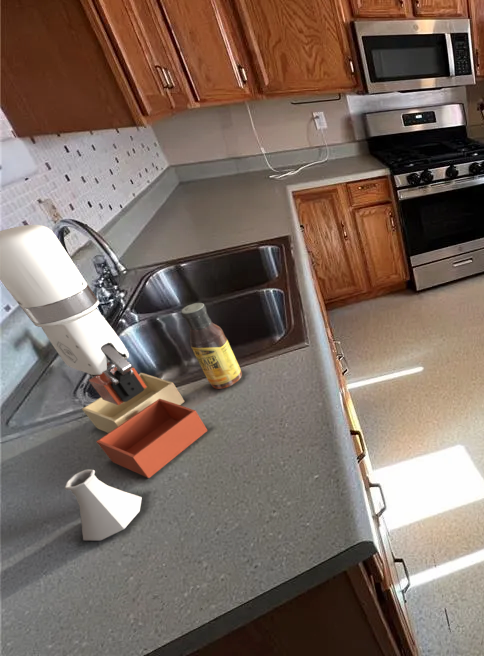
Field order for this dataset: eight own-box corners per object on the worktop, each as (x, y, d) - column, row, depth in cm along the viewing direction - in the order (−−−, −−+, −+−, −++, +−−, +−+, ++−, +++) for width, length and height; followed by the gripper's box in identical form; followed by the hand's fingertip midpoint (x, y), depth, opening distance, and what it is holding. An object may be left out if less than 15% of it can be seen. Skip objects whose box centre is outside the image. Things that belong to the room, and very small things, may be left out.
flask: (73, 549, 62) (32, 508, 58) (101, 505, 68) (66, 465, 64) (128, 533, 64) (92, 493, 59) (151, 491, 70) (120, 452, 65)
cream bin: (97, 428, 84) (81, 408, 81) (153, 391, 93) (141, 372, 90) (129, 441, 80) (114, 421, 78) (184, 401, 89) (173, 382, 86)
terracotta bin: (112, 462, 76) (95, 441, 74) (172, 418, 85) (159, 398, 82) (148, 478, 72) (132, 457, 70) (207, 430, 81) (195, 410, 78)
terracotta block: (103, 399, 71) (88, 380, 69) (131, 382, 75) (118, 362, 73) (118, 405, 70) (103, 385, 68) (147, 387, 73) (134, 367, 71)
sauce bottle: (205, 389, 92) (163, 315, 83) (228, 370, 97) (191, 298, 88) (229, 392, 90) (188, 317, 81) (251, 373, 96) (215, 300, 86)
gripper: (2, 310, 64) (71, 398, 72) (62, 327, 58) (130, 420, 66) (62, 286, 70) (120, 369, 78) (122, 299, 64) (177, 387, 72)
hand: (124, 391), depth 72 cm, fingers closed on terracotta block, 4 cm apart
